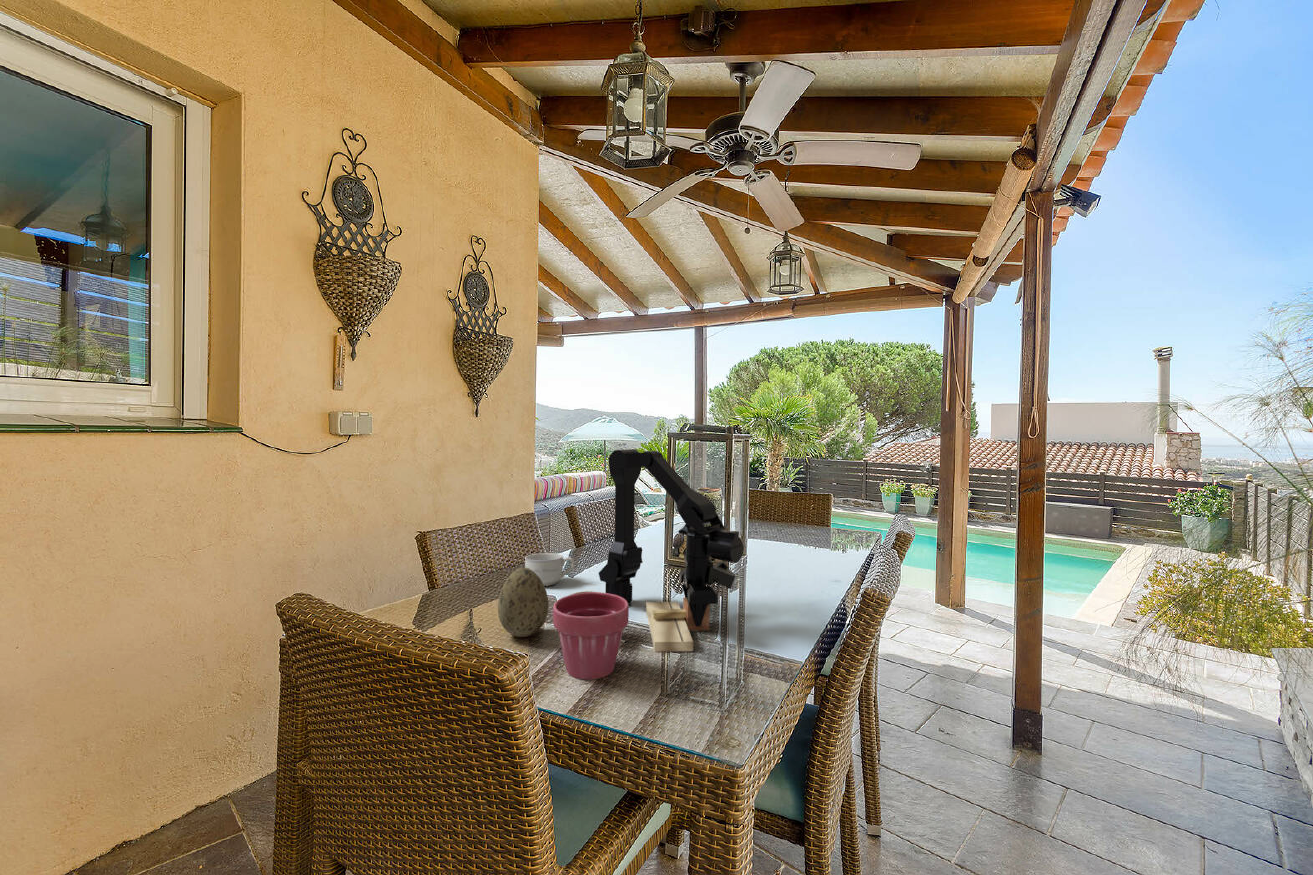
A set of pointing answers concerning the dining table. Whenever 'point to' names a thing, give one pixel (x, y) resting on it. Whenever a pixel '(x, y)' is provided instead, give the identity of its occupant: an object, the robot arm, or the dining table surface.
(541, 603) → the decorative egg
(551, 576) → the teacup
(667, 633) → the board
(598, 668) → the plant pot
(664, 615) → the wooden mallet
